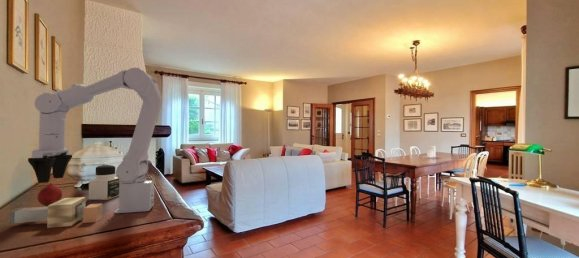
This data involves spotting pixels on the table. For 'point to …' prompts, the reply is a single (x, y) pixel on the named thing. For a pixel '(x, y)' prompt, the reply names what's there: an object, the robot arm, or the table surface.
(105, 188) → the medicine bottle
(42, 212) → the bar
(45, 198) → the onion
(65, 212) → the bearing block
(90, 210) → the block
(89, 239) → the table surface
